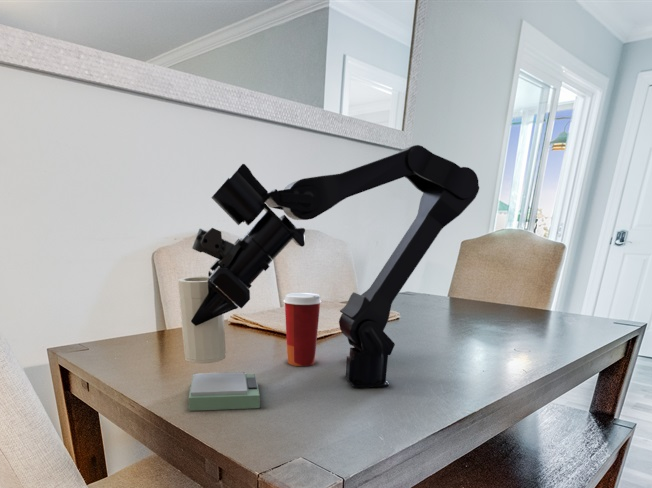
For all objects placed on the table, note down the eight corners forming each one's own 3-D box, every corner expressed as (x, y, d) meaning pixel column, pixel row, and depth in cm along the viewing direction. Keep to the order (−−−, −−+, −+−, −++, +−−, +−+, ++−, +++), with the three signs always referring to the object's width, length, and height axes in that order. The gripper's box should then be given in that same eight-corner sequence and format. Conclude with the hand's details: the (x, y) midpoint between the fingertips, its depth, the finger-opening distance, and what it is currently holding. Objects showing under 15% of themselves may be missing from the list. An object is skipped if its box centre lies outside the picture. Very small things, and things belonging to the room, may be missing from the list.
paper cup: (325, 361, 98) (328, 294, 93) (308, 370, 92) (310, 298, 87) (294, 355, 102) (295, 291, 97) (275, 363, 96) (275, 295, 90)
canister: (221, 350, 82) (216, 275, 77) (229, 361, 76) (225, 280, 71) (182, 354, 80) (175, 277, 75) (188, 365, 74) (181, 282, 69)
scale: (255, 385, 83) (254, 370, 82) (259, 408, 73) (259, 391, 72) (193, 387, 82) (192, 372, 81) (189, 410, 72) (188, 394, 70)
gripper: (220, 209, 79) (161, 277, 81) (222, 206, 61) (146, 293, 64) (267, 257, 82) (208, 320, 85) (281, 266, 65) (207, 345, 68)
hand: (194, 319), depth 75 cm, fingers closed on canister, 7 cm apart
